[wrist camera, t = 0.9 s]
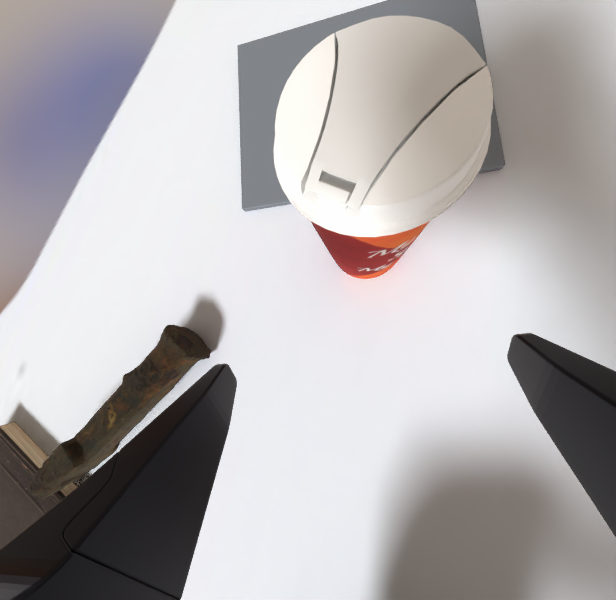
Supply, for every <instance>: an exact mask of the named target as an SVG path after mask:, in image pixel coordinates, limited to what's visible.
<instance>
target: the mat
mask: <svg viewBox="0 0 616 600" xmlns="http://www.w3.org/2000/svg"><path fill="white" fill-rule="evenodd" d="M384 16H413V17H421V18H425V19H430V20H434V21H437V22H440V23H442V24H444V25H447V26H449V27H451V28H453V29H454V30H455V31H457V32H458V33H460V34H461V35H462V36H464V38H465V39H466V40H467V41H468V42H469V43H470V44H471V45H472V46H473V48H474V49H475V50H476V51H477V53H478V54H479V55H480V57H481V58H482V59H483V61H484V62H485V63H486V65H485V66H487V62H486V57H485V51H484V45H483V40H482V34H481V29H480V23H479V18H478V12H477V7H476V1H475V0H387V1H384V2H380V3H377V4H374V5H370V6H367V7H364V8H361V9H357V10H354V11H351V12H347V13H344V14H341V15H337V16H334V17H331V18H327V19H324V20H321V21H317V22H314V23H311V24H308V25H304V26H301V27H298V28H294V29H291V30H288V31H284V32H281V33H278V34H274V35H271V36H268V37H264V38H261V39H258V40H255V41H251V42H248V43H245V44H241V45H238V75H239V111H240V147H241V183H242V209H243V210H244V211H250V210H256V209H262V208H268V207H274V206H280V205H287V204H292V203H291V202H290V201H289V199H288V198H287V196H286V194H285V193H284V191H283V190H282V187H281V185H280V182H279V180H278V178H277V174H276V169H275V165H274V140H275V120H276V111H277V107H278V104H279V100H280V96H281V94H282V91H283V89H284V87H285V84H286V82H287V80H288V79H289V77H290V75H291V74H292V72H293V70H294V69H295V68H296V66H297V65H298V64H299V63H300V61H301V60H302V59H303V58H304V57H305V56H306V55H307V54H308V53H309V52H310V51H311V50H312V49H313V48H314V47H315V46H316V45H317V44H319V43H320V42H321V41H323V40H324V39H325V38H327V37H328V36H330V35H331V34H333V33H334V34H335V33H336V32H337V31H340V30H342V29H345V28H347V27H350V26H352V25H355V24H358V23H361V22H364V21H367V20H370V19H373V18H378V17H384ZM335 42H336V34H335ZM336 46H337V45H336ZM504 165H505V161H504V156H503V150H502V145H501V139H500V134H499V128H498V123H497V117H496V112H495V106H494V101H493V109H492V114H491V136H490V141H489V146H488V151H487V154H486V157H485V159H484V162H483V164H482V167H481V169H480V171H479V172H478V173H480V172H486V171H492V170H498V169H501V168H502V167H503V166H504Z"/></svg>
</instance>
